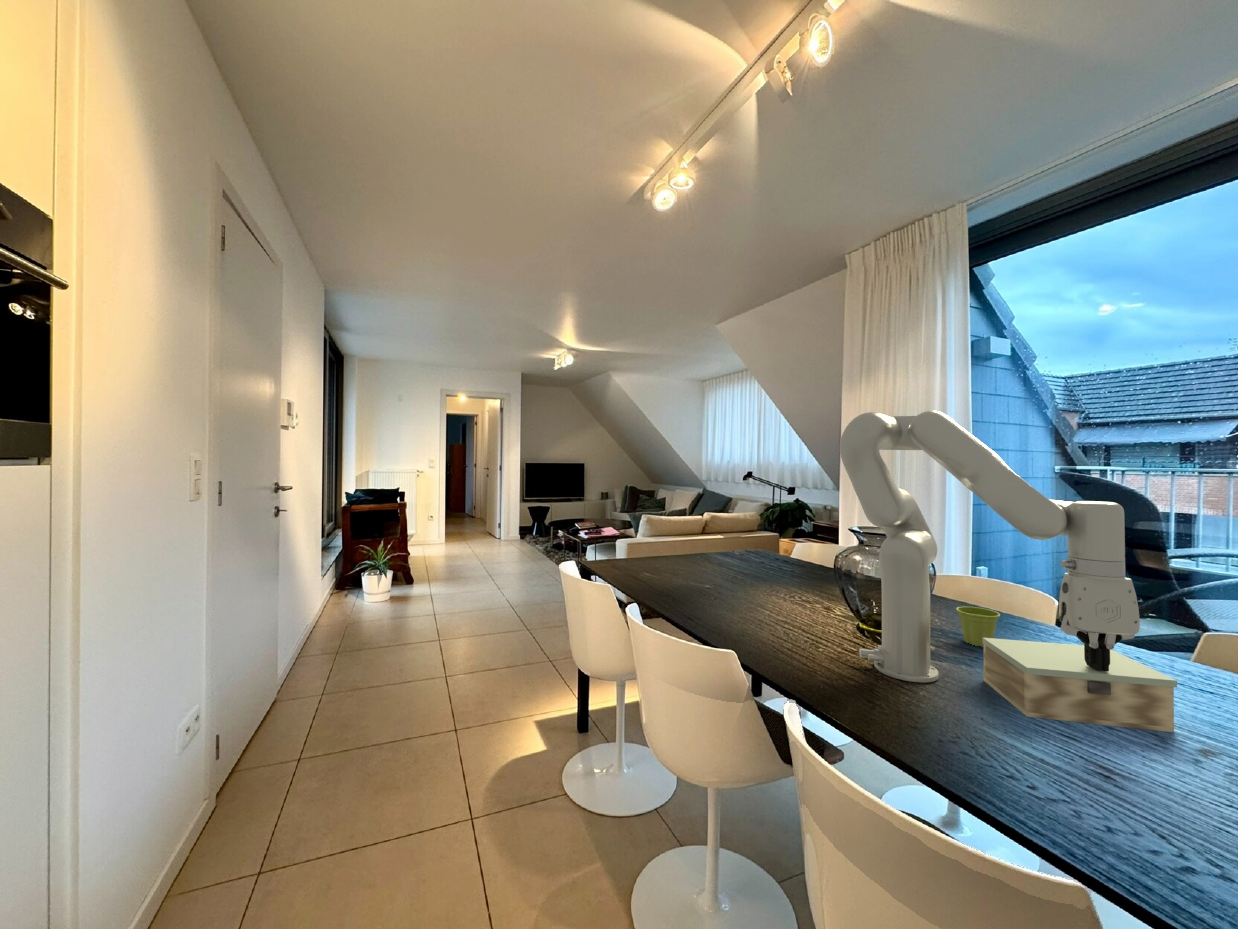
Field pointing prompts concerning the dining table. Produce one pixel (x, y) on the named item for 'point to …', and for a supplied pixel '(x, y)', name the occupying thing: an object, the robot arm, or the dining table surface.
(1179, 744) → the dining table surface
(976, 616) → the plant pot
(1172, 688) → the crate
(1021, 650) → the lid
